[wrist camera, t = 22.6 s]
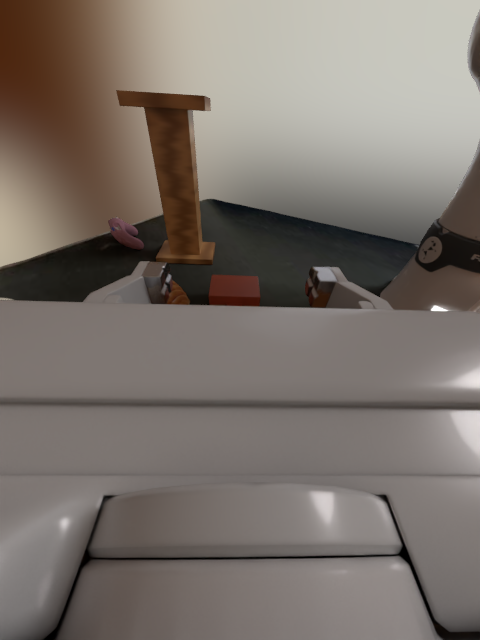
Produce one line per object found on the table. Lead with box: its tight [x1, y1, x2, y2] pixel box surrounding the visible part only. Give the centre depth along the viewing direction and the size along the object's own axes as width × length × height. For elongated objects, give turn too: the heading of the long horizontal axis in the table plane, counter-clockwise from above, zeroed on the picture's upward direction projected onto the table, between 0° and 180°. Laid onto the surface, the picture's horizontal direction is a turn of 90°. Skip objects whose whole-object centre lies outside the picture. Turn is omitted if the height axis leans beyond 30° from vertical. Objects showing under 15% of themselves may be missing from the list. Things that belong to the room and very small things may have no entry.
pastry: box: [167, 281, 190, 305], centre depth 37 cm, size 9×7×4 cm
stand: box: [117, 90, 215, 265], centre depth 42 cm, size 12×9×26 cm
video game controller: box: [108, 217, 144, 250], centre depth 52 cm, size 10×5×7 cm, turn 27°
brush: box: [209, 275, 260, 307], centre depth 34 cm, size 8×17×4 cm, turn 0°
